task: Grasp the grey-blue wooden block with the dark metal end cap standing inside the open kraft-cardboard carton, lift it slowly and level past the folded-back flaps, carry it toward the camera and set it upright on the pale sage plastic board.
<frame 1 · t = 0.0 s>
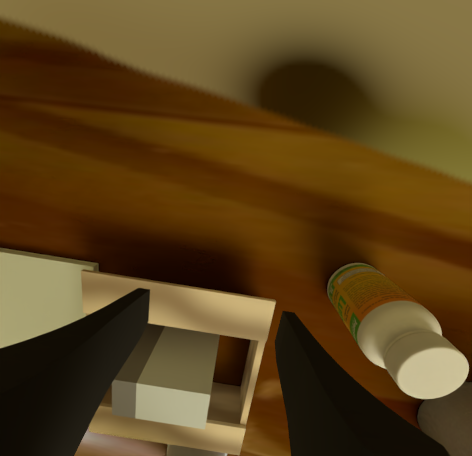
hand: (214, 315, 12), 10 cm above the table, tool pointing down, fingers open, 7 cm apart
pillar candle: (456, 409, 26), on the table
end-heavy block: (173, 367, 21), in the carton
sage board: (47, 318, 25), on the table
carton: (183, 340, 25), on the table
supplement bottle: (352, 284, 22), on the table
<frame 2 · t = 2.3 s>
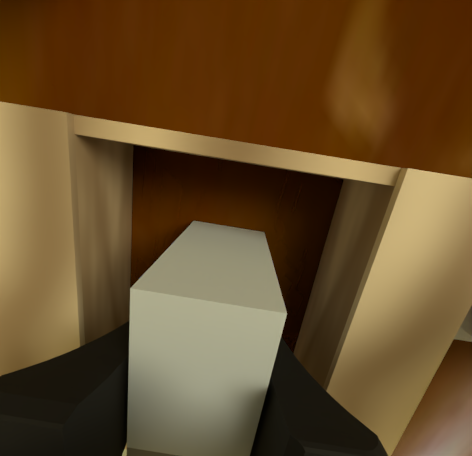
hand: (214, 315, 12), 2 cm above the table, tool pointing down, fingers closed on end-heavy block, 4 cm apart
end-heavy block: (210, 329, 10), in the carton, touching gripper
carton: (219, 288, 13), on the table
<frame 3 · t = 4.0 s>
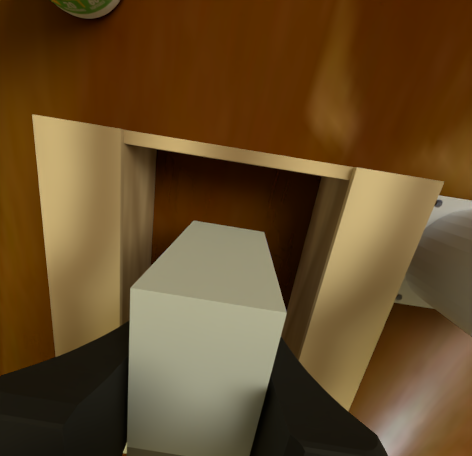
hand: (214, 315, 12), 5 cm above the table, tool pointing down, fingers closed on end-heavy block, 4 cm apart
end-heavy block: (210, 329, 10), point 7 cm above the table, touching gripper
carton: (223, 265, 16), on the table
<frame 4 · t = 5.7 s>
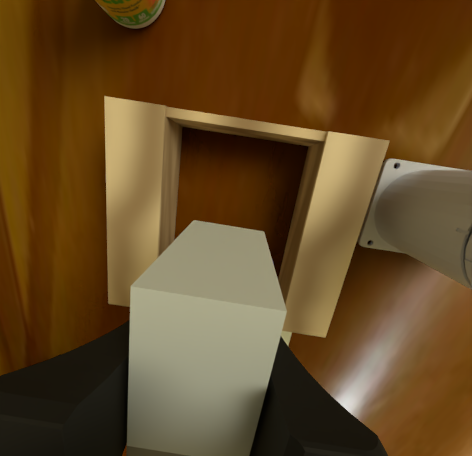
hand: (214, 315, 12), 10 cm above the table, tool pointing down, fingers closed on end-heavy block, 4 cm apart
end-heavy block: (210, 328, 10), point 12 cm above the table, touching gripper
carton: (233, 219, 21), on the table
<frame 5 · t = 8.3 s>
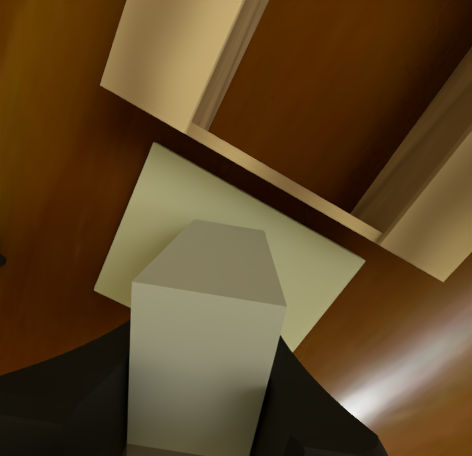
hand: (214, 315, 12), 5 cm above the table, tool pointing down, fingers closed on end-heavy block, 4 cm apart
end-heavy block: (210, 327, 10), point 7 cm above the table, touching gripper
sage board: (223, 271, 17), on the table
carton: (349, 59, 12), on the table
when the fingers open (4 cm above the table, at t = 9.4 s): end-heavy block drops 1 cm, resting on sage board.
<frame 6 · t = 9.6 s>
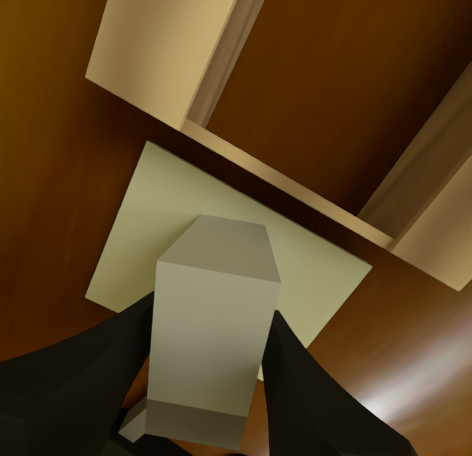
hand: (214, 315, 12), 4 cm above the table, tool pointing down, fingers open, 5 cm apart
door handle: (164, 427, 21), on the table
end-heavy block: (216, 308, 11), on the sage board, point 4 cm above the table
sage board: (222, 277, 16), on the table
carton: (357, 51, 12), on the table
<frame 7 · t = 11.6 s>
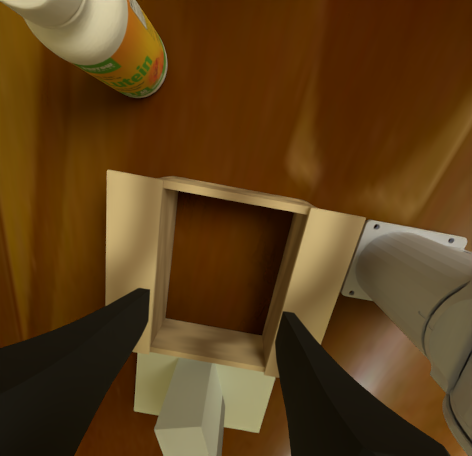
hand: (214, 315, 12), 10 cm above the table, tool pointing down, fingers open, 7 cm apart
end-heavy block: (196, 416, 22), on the sage board, point 4 cm above the table
sage board: (204, 380, 27), on the table
carton: (224, 267, 22), on the table
supplement bottle: (137, 63, 18), on the table
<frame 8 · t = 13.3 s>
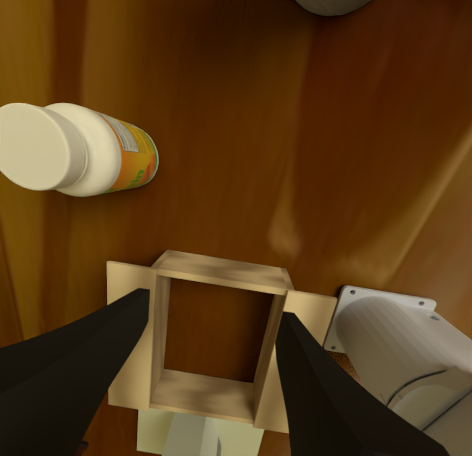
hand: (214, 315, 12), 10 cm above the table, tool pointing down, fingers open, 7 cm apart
sage board: (201, 422, 29), on the table
carton: (216, 325, 24), on the table
supplement bottle: (131, 157, 20), on the table
mate gourd: (70, 439, 31), on the table
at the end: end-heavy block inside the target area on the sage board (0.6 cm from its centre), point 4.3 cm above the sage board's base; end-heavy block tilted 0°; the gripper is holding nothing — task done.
